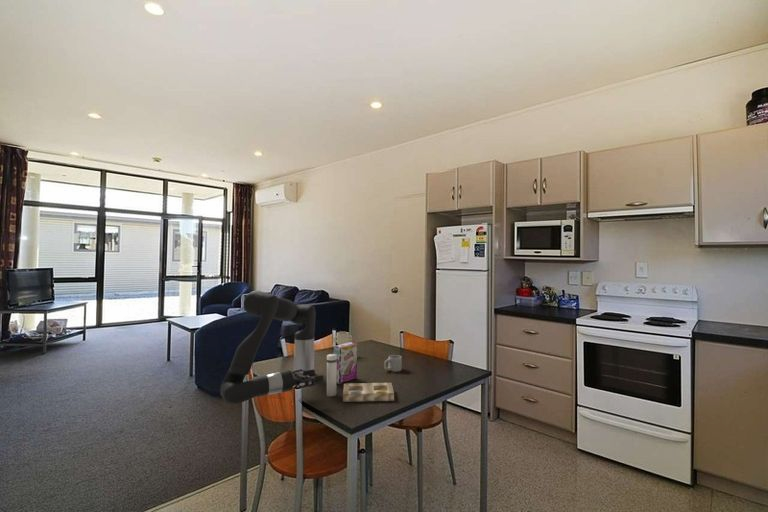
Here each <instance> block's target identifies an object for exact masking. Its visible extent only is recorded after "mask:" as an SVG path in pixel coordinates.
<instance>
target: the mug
mask: <svg viewBox="0 0 768 512" xmlns="http://www.w3.org/2000/svg"><path fill="white" fill-rule="evenodd" d="M402 357H403V356H402V355H399V354H390V355H388V358H387V359H386V360H384V363H383V368H384V370H385V371H389V372H392V373H396V372H401V371H402V367H403V366H402V365H403V364H402V362H403V360H402V359H403V358H402ZM387 363H388V364H387ZM387 365H388V366H387Z"/></svg>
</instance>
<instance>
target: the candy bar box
mask: <svg viewBox="0 0 768 512" xmlns="http://www.w3.org/2000/svg"><path fill="white" fill-rule="evenodd" d="M332 354H336V355H337V379H336V385H341V384H344V383H346V382H347V383H348V382H349V381H353V380H355V379H357V377H358V376H357V375H358V371H357V368H358V343H355V342H352V341H349V343H345V344H340V345H338V344H337V345H334V346H333V352H332Z"/></svg>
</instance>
